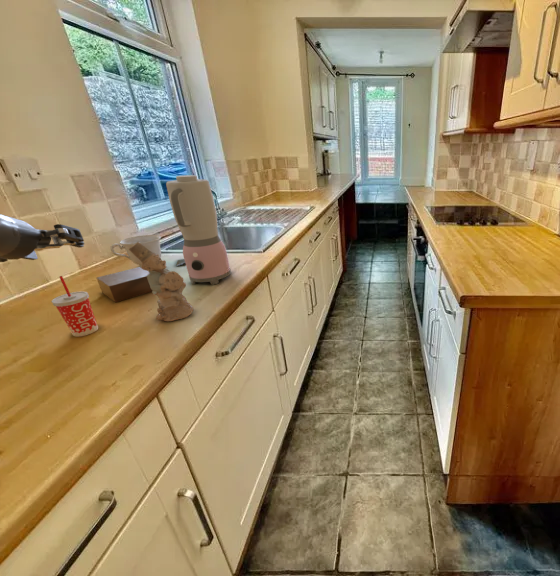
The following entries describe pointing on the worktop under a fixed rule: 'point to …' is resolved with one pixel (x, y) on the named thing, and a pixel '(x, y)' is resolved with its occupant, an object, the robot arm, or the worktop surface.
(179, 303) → the figurine
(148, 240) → the teacup
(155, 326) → the worktop surface
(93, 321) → the beverage cup
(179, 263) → the build plate
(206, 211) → the blender
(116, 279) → the walnut block
